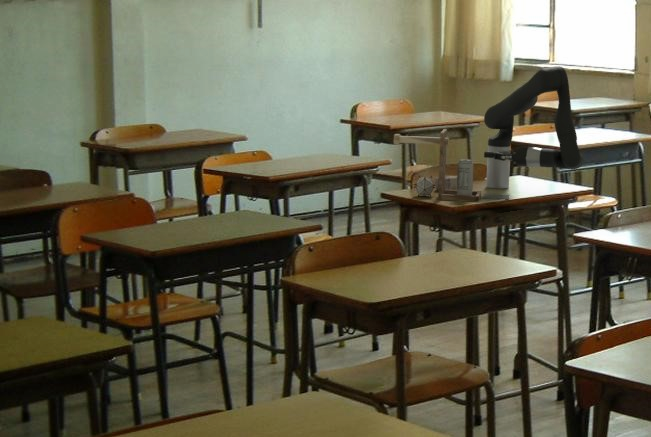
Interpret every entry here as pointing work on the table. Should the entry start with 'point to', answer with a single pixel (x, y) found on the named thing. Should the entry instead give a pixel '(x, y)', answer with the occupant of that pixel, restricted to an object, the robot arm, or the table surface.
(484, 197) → the mat
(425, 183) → the game die
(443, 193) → the wooden gallows stand
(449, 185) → the mineral specimen
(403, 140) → the key bar
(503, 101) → the robot arm
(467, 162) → the energy drink can
